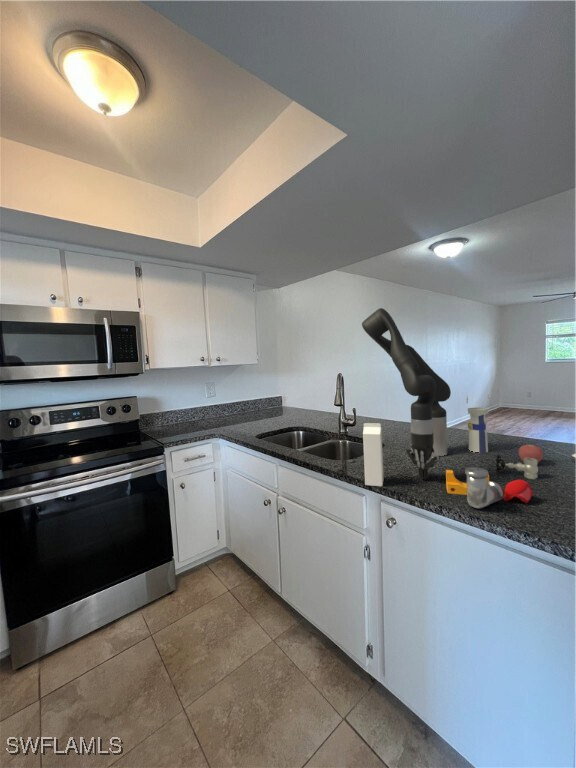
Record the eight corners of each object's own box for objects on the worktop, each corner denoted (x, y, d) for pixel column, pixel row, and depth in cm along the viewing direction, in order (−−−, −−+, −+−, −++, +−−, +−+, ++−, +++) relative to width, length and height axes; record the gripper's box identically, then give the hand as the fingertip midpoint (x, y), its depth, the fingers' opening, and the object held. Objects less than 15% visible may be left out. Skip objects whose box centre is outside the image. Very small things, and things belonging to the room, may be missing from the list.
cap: (523, 484, 98) (504, 474, 99) (538, 485, 92) (518, 474, 93) (515, 507, 96) (496, 497, 97) (529, 510, 90) (509, 499, 91)
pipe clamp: (447, 493, 102) (447, 474, 101) (446, 488, 106) (445, 469, 105) (490, 497, 97) (490, 477, 97) (487, 491, 101) (487, 472, 101)
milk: (367, 479, 118) (364, 421, 116) (383, 480, 115) (381, 421, 114) (365, 485, 112) (362, 424, 110) (382, 486, 110) (380, 425, 108)
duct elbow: (481, 514, 88) (480, 476, 87) (461, 506, 93) (460, 470, 92) (503, 503, 93) (503, 467, 92) (483, 496, 98) (483, 462, 97)
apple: (515, 459, 128) (515, 440, 127) (537, 460, 125) (537, 441, 125) (522, 466, 121) (522, 445, 120) (545, 467, 118) (546, 446, 118)
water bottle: (474, 454, 138) (473, 398, 136) (464, 448, 146) (463, 395, 144) (493, 453, 137) (492, 396, 136) (481, 447, 146) (481, 394, 144)
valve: (538, 475, 111) (498, 469, 119) (538, 457, 111) (498, 452, 119) (537, 481, 106) (495, 474, 114) (537, 463, 106) (495, 457, 114)
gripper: (399, 429, 116) (401, 474, 117) (431, 436, 104) (433, 486, 106) (413, 426, 120) (414, 470, 121) (445, 432, 108) (446, 480, 109)
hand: (423, 477), depth 113 cm, fingers closed
